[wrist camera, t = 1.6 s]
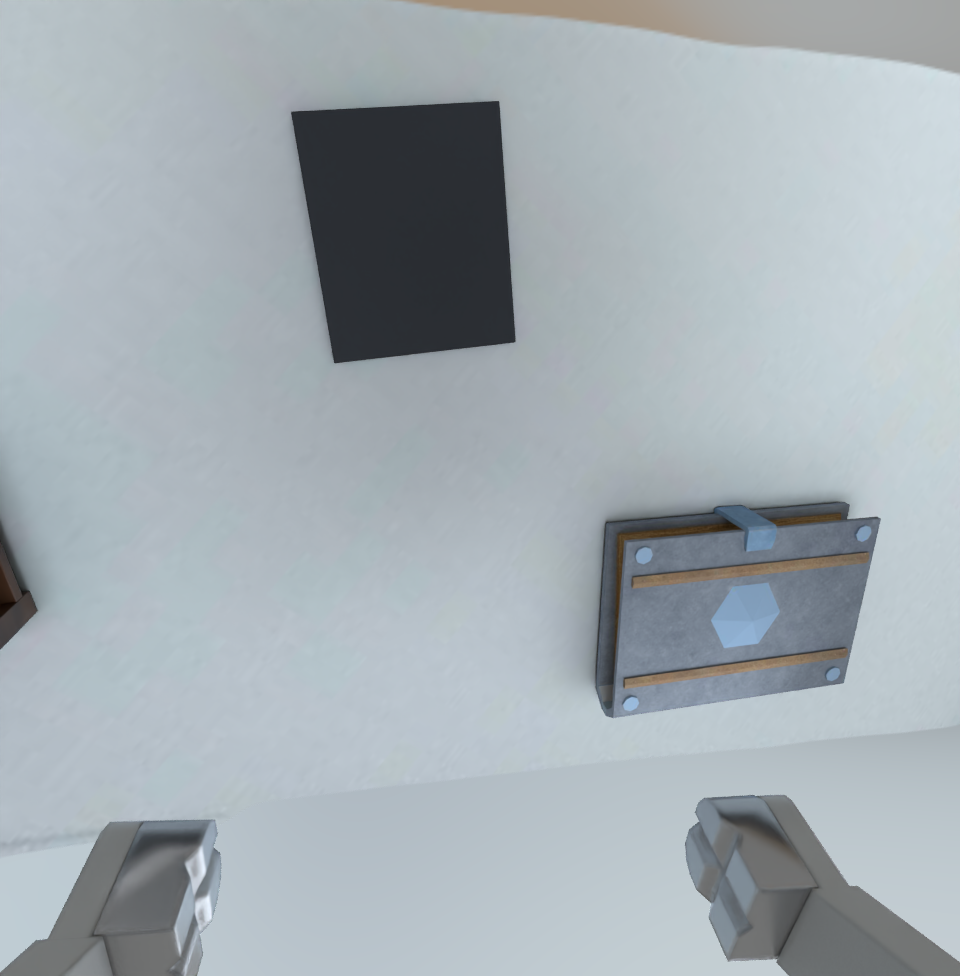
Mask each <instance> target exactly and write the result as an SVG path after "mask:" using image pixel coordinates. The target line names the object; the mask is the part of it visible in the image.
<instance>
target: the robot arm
mask: <svg viewBox="0 0 960 976" xmlns="http://www.w3.org/2000/svg"><path fill="white" fill-rule="evenodd" d="M695 813H696V815H697V817H698V819H699V822H698V823H697V824H695V825H694V826H693V827H692V828H691V829H689V832H688V836H687V839H686V842H685V846H686V860H687V864H688V868H689V872H690V875H691V878H692V880H693V883H694V885H695V887H696V889H697V891H698V892H700V893H701V894H702V895H703V896H704V897H705V898H706V899H707V900H708V901H710V902H711V907H710V913H709V920H710V922H711V924H712V926H713V929H714V931H715V933H716V936H717V938H718V940H719V942H720V945H721V947H722V949H723V951H724V954H725V956H726V958H727V960H728V961H748V960H767V959H778V960H777V963H778V965H779V966H780V967H781V968H782V969H783V970H784V971H785V972H786V973H787V974H788V975H789V976H960V962H959V961H957V960H956V959H955V958H953V957H952V956H951V955H949V954H948V953H947V952H945V951H944V950H943V949H941V948H940V947H939V946H937V945H936V944H935V943H933V942H932V941H931V940H929V939H928V938H927V937H925V936H924V935H923V934H921V933H920V932H919V931H917V930H916V929H914V928H913V927H912V926H910V925H909V924H908V923H907V922H905V921H904V920H903V919H901V918H900V917H898V916H897V915H896V914H894V913H893V912H892V911H890V910H889V909H888V908H886V907H885V906H884V905H882V904H881V903H880V902H878V901H877V900H875V899H874V898H873V897H872V896H870V895H869V894H868V893H866V892H865V891H863V890H862V889H861V888H860V887H858V886H849V885H848V883H847V882H846V880H845V879H844V877H843V876H842V874H841V873H840V871H839V870H838V868H837V867H836V865H835V864H834V862H833V861H832V859H831V858H830V856H829V855H828V853H827V852H826V850H825V849H824V847H823V846H822V844H821V843H820V842H819V840H818V838H817V837H816V835H815V834H814V833H813V831H812V830H811V829H810V827H809V825H808V824H807V822H806V821H805V819H804V818H803V816H802V815H801V813H800V812H799V810H798V809H797V807H796V806H795V804H794V803H793V802H792V800H791V799H789V798H788V797H787V796H785V795H765V796H754V795H748V796H731V797H713V798H704V799H702V800H701V801H700V802H699V803H698V805H697V808H696V811H695ZM217 834H218V833H217V827H216V822H215V820H165V821H124V822H109V824H108V825H107V826H106V827H105V828H104V830H103V831H102V832H101V833H100V835H99V837H98V839H97V841H96V843H95V845H94V847H93V849H92V851H91V853H90V855H89V857H88V859H87V861H86V863H85V865H84V867H83V869H82V871H81V873H80V875H79V877H78V879H77V881H76V883H75V885H74V887H73V889H72V891H71V893H70V895H69V897H68V899H67V901H66V903H65V905H64V907H63V909H62V911H61V913H60V915H59V917H58V919H57V921H56V924H55V925H54V928H53V929H52V931H51V934H50V936H49V938H48V939H45V940H36V941H35V942H34V943H33V944H31V945H30V946H29V947H28V948H27V949H26V950H25V951H24V952H23V953H21V954H20V955H19V956H18V957H17V958H16V959H15V960H14V961H12V962H11V963H10V964H9V965H8V966H7V967H6V968H5V969H4V970H2V971H1V972H0V976H197V973H198V970H199V966H200V963H201V959H202V956H203V951H202V944H201V938H200V934H201V932H202V931H203V930H204V929H205V928H206V927H207V926H208V925H209V924H210V923H211V922H212V919H213V915H214V911H215V907H216V903H217V899H218V893H219V887H220V880H221V856H220V852H218V851H217V850H216V849H215V848H214V844H215V841H216V837H217Z"/></svg>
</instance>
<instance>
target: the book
mask: <svg viewBox="0 0 960 976" xmlns="http://www.w3.org/2000/svg"><path fill="white" fill-rule="evenodd" d="M849 506H850V505H849V504H847V503H845V502H842V503H830V504H819V505H808V506H796V507H785V508H773V509H762V510H749V509H747V508H746V507H744V506H742V505H740V506H728V507H717V508H715V509H714V514H705V515H694V516H682V517H671V518H660V519H648V520H637V521H626V522H614V523H606V536H605V552H604V567H603V583H602V599H601V614H600V630H599V645H598V661H597V676H596V691H597V694H598V697H599V701H600V704H601V707H602V710H603V711H604V713H605V715H606V716H608V717H612V718H616V717H622V716H629V715H636V714H642V713H649V712H656V711H662V710H669V709H676V708H682V707H689V706H695V705H702V704H709V703H715V702H722V701H729V700H735V699H742V698H749V697H755V696H762V695H768V694H775V693H782V692H788V691H795V690H802V689H808V688H815V687H821V686H828V685H835V684H841V683H844V679H845V675H846V670H847V666H848V661H849V657H850V653H851V648H852V644H853V639H854V635H855V631H856V626H857V622H858V617H859V613H860V608H861V604H862V600H863V595H864V591H865V586H866V582H867V577H868V573H869V569H870V564H871V560H872V555H873V551H874V547H875V542H876V538H877V533H878V529H879V524H880V520H881V518H878V517H868V518H858V519H847V516H848V511H849Z"/></svg>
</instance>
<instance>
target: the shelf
mask: <svg viewBox="0 0 960 976" xmlns="http://www.w3.org/2000/svg"><path fill="white" fill-rule="evenodd" d="M36 612H37V609H36V606H35V604H34V601H33V599H32V596H31V594H30V591H25V592H21V591H20V588H19V586H18V583H17V581H16V579H15V576H14V574H13V571H12V569H11V566H10V564H9V561H8V559H7V556H6V554H5V551H4V549H3V546H2V544H1V541H0V649H1V648H2V647H3V646H4V645H5V644H6V643H7V642H8V641H9V640H10V639H11V638H12V637H13V636H14V635H15V634H16V633H17V632H18V631H19V630H20V629H21V628H22V627H23V626H24V625H25V624H26V623H27V622H28V621H29V619H30V618H31V617H32V616H33V615H34V614H35V613H36Z"/></svg>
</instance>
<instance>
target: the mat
mask: <svg viewBox="0 0 960 976" xmlns="http://www.w3.org/2000/svg"><path fill="white" fill-rule="evenodd" d="M291 114H292V120H293V125H294V131H295V137H296V143H297V149H298V154H299V160H300V166H301V172H302V178H303V183H304V189H305V195H306V201H307V207H308V213H309V218H310V224H311V230H312V236H313V242H314V247H315V253H316V259H317V265H318V271H319V276H320V282H321V288H322V294H323V300H324V306H325V311H326V317H327V323H328V329H329V335H330V340H331V346H332V352H333V358H334V363H340V362H349V361H357V360H366V359H375V358H383V357H392V356H401V355H409V354H418V353H427V352H435V351H444V350H452V349H461V348H470V347H478V346H487V345H496V344H504V343H513V342H515V328H514V313H513V298H512V284H511V269H510V254H509V240H508V225H507V210H506V196H505V181H504V166H503V152H502V137H501V123H500V108H499V101H492V102H473V103H453V104H434V105H415V106H395V107H376V108H356V109H337V110H318V111H298V112H291Z"/></svg>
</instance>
